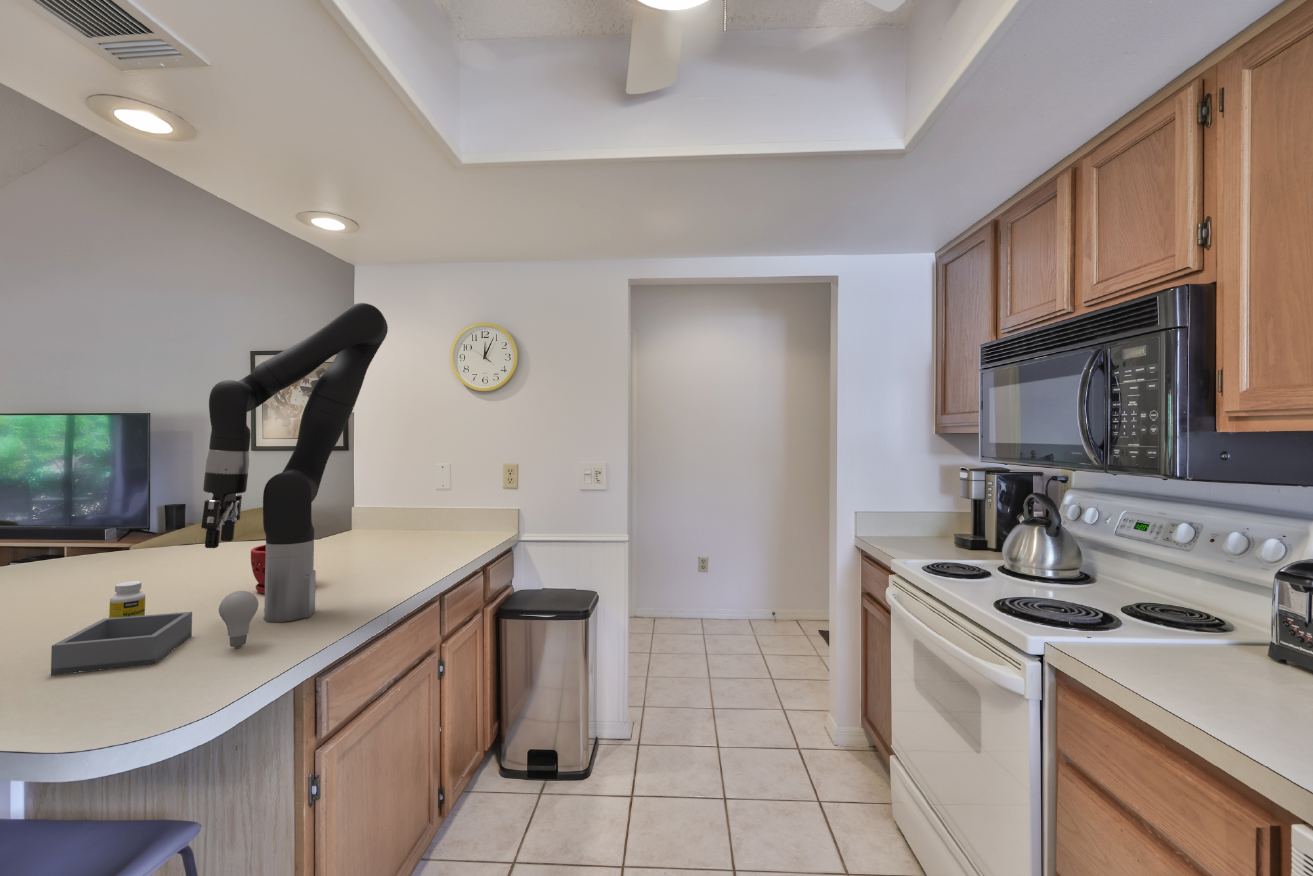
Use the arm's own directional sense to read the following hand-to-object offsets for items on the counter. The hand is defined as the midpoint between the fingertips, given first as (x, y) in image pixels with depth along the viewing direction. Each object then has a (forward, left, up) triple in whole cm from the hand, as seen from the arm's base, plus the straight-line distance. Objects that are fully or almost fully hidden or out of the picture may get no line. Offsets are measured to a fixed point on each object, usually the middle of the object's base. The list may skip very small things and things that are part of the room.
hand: (219, 544), depth 120 cm
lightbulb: (-9, +19, -17) cm, 27 cm away
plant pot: (-5, -26, -17) cm, 32 cm away
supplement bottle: (+16, 0, -17) cm, 23 cm away
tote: (+9, +16, -17) cm, 25 cm away
